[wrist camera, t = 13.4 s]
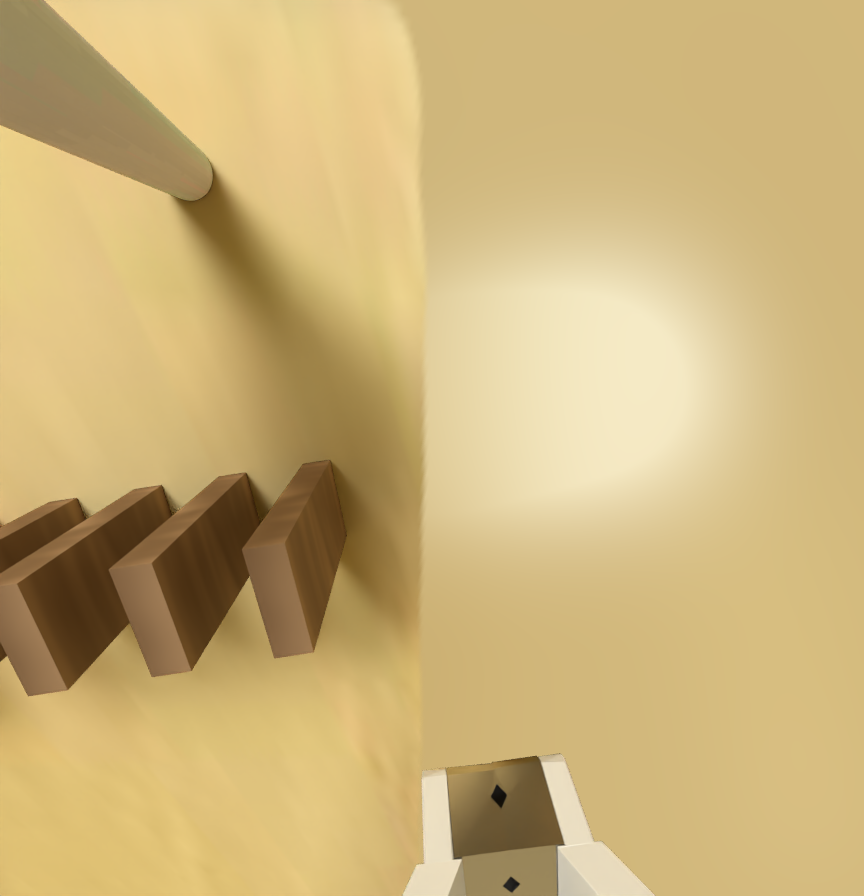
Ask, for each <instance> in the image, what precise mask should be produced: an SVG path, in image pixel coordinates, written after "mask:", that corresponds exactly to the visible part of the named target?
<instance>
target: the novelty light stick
mask: <svg viewBox="0 0 864 896" xmlns="http://www.w3.org/2000/svg"><path fill="white" fill-rule="evenodd" d="M0 125H2V126H4V127H6V128H9V129H11V130H14V131H16V132H19V133H21V134H24V135H26V136H28V137H31V138H33V139H36V140H38V141H41V142H43V143H46V144H48V145H50V146H53V147H55V148H58V149H60V150H63V151H65V152H68V153H70V154H72V155H75V156H77V157H80V158H82V159H85V160H87V161H90V162H92V163H94V164H97V165H99V166H102V167H104V168H107V169H109V170H111V171H114V172H116V173H119V174H121V175H124V176H126V177H129V178H131V179H133V180H136V181H138V182H141V183H143V184H146V185H148V186H151V187H153V188H155V189H158V190H160V191H163V192H165V193H168V194H170V195H173V196H175V197H177V198H180V199H182V200H187V201H194V200H198V199H200V198H202V197H203V196H205V195H206V194H207V192H208V191H209V189H210V187H211V185H212V180H213V173H212V168H211V165H210V162H209V160H208V158H207V157H206V156H205V154H204V153H203V152H202V151H201V150H200V149H199V148H198V147H197V146H196V145H195V144H194V143H193V142H192V141H191V140H189V139H188V138H187V137H186V136H185V135H184V134H183V133H182V132H181V131H180V130H179V129H178V128H177V127H176V126H175V125H174V124H173V123H172V122H171V121H170V120H169V119H168V118H166V117H165V116H164V115H163V114H162V113H161V112H160V111H159V110H158V109H157V108H156V107H155V106H154V105H153V104H152V103H151V102H150V101H149V100H148V99H147V98H146V97H145V96H143V95H142V94H141V93H140V92H139V91H138V90H137V89H136V88H135V87H134V86H133V85H132V84H131V83H130V82H129V81H128V80H127V79H126V78H125V77H124V76H123V75H122V74H120V73H119V72H118V71H117V70H116V69H115V68H114V67H113V66H112V65H111V64H110V63H109V62H108V61H107V60H106V59H105V58H104V57H103V56H102V55H101V54H100V53H99V52H97V51H96V50H95V49H94V48H93V47H92V46H91V45H90V44H89V43H88V42H87V41H86V40H85V39H84V38H83V37H82V36H81V35H80V34H79V33H78V32H77V31H76V30H74V29H73V28H72V27H71V26H70V25H69V24H68V23H67V22H66V21H65V20H64V19H63V18H62V17H61V16H60V15H59V14H58V13H57V12H56V11H55V10H54V9H53V8H51V7H50V6H49V5H48V4H47V3H46V2H45V1H44V0H0Z"/></svg>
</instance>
